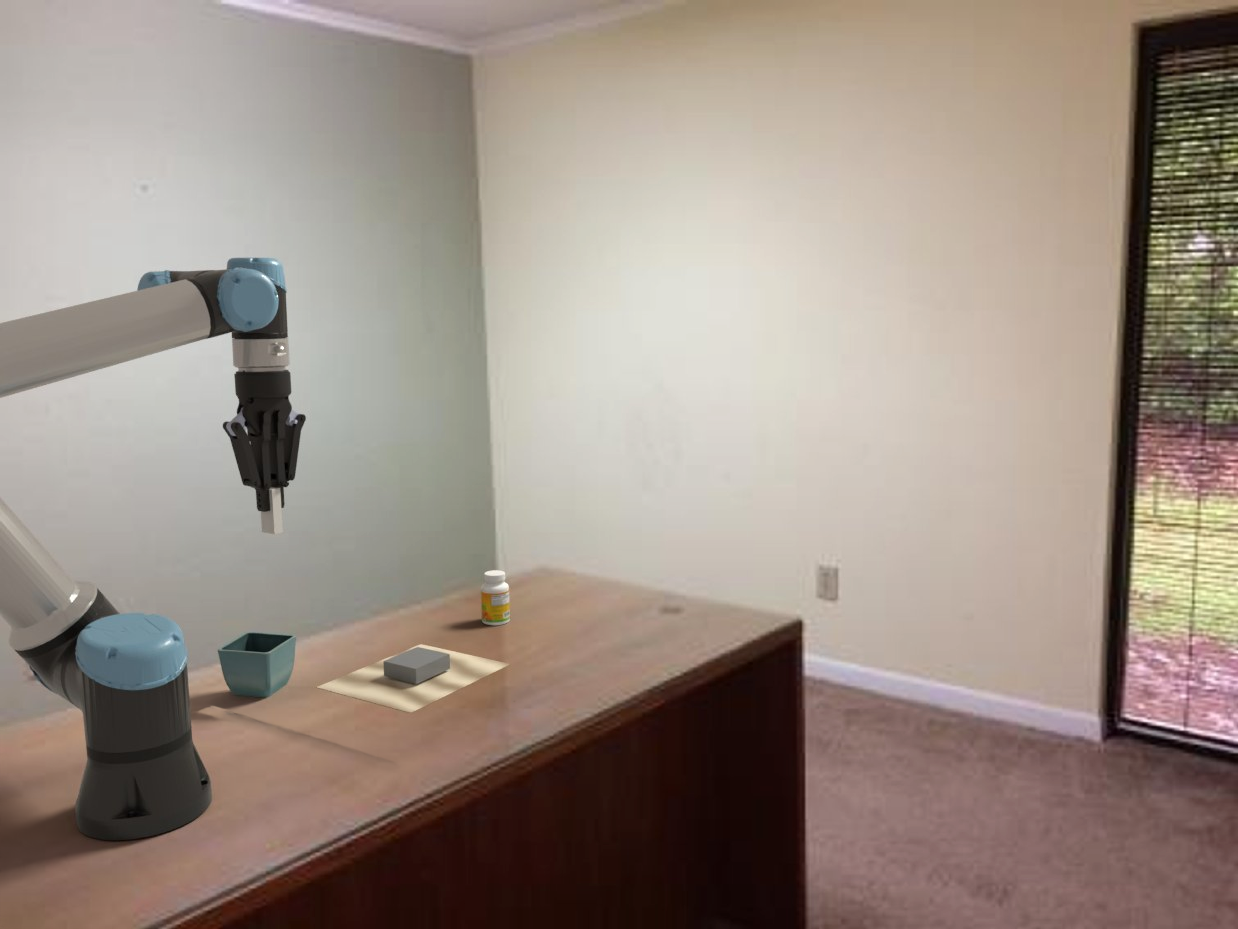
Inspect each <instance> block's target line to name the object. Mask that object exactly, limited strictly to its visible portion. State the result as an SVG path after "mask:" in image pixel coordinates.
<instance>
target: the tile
mask: <svg viewBox="0 0 1238 929" xmlns="http://www.w3.org/2000/svg"><path fill="white" fill-rule="evenodd" d="M383 664H384V676H386V677H390V678H394V679H398V680H402V681H406V682H410V683H414V684H418V683H420V682H422V681H424V680H427V679H429V678H431V677H433V676H435V675H437V674H440V673H442V672H444V671H446V670H448V669H450V654H447V653H443V652H438V651H434V650H429V649H425V648H420V647H416V648H414V649H411V650H409V651H407V652H404V653H402V654H399V655H397V656H395V657H392V658H390V659H387V660H385V661H383Z"/></svg>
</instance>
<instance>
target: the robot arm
mask: <svg viewBox="0 0 1238 929" xmlns="http://www.w3.org/2000/svg"><path fill="white" fill-rule="evenodd" d="M287 290H288V289H287V286H286V279H285V272H284V266H283V263H282V262H281V261H280V260H279V259H276V258H274V257H231V258H229V259H228V260H227V262H226V269H207V270H206V269H205V270H189V271H188V270H168V269H167V270H166V269H164V270H162V271H160V270H159V271H157V270H155V271H147V272H146V273H144V274H143V275H142V276H141V277H140V280H139V281H138V284H137V290H136V291H135V290H134V291H129V292H125V293H122V294H117V295H114V296H110V297H105V298H101V299H98V300H97V299H96V300H92V301H88V302H85V303H80V304H79V303H78V304H75V305H72V306H66V307H64V308H59V309H55V310H51V311H50V310H49V311H45V312H43V313H42V312H41V313H38V314H34V315H28V316H25V317H21V318H17V319H12V320H8V321H3V322H0V399H2V398H6V397H9V396H12V395H15V394H20V393H22V392H26V391H30V390H33V389H37V388H39V387H44V386H47V385H50V384H53V383H57V382H60V381H64V380H67V379H71V378H75V377H77V376H82V375H85V374H89V373H91V372H96V371H99V370H103V369H106V368H109V367H113V366H117V365H119V364H123V363H127V362H130V361H134V360H137V359H141V358H144V357H147V356H151V355H154V354H158V353H162V352H164V351H169V350H170V349H171V350H172V349H174V348H175V349H176V348H178V347H182V346H186V345H189V344H192V343H196V342H199V341H204V340H208V339H212V338H217V337H219V336H223V335H228V334H230V333H231V343H232V347H231V348H232V361H233V362H232V364H233V366H234V368H237V370H236V371H235V373H233V375H234V388H235V390H234V391H235V396H236V397H237V399H238V404H237V405H238V406H237V408H236V415H235V416H234V417H233V418H232V419H231V420H230V421H226V420H225V421H224V422H223V423H222V429H223V430H224V432H225V433H226V434H227V436H228V437H229V441H230V444H231V447H232V451H233V453H234V457H235V461H236V465H237V468H238V472H239V475H240V478H241V482H242V485H243V486H245V487H250V488H253V489H254V490H255V498H256V499H255V500H256V510H257V511H258V512H260V521H261V533H266V534H272V535H277V534H281V533H283V532H284V530H283V529H284V528H283V513H282V512H283V511H282V509H283V508H284V509H285V490H284V488H288V487H289V485H290V481H294V480H295V478H296V474H297V473H296V472H297V465H298V464H297V463H298V456H299V450H300V442H301V434H302V429H303V427H304V424H305V422H306V420H307V417H306V415H305V414H304V413H298V412H296V411H295V410H293V406H292V404H291V402H290V398H289V396H290V395H291V394H292V380H291V372H290V371H289V369H286V367H288V366H289V365H291V363H290V348H289V347H290V345H289V336H288V334H289V333H288V311H287V309H288V308H287V292H288V291H287ZM0 617H2V619H3V620H5V622H6V623H7V624H8V625H9V626H10V634H9V638H8V643H9V646H10V647H11V648H12V650H14V651H15V652H16V654H18V655H19V656H20V657H21V659H22V660H23V661H24V662H25V663H26V664H27V665H28V667H29V670H31V672H32V675H33V677H34V678H35V679H36V681H37V682H39V683H40V684H41V685H42V686H43V687H44V688H45V689H47V690H49V692H53V694H56V695H58V696H60V697H61V698H63V699H65V700H66V701H68V703H70V704H72V705H73V706H74V707H75V708H77V709H79V710H80V711H81V712H82V719H83V728H84V738H85V739H84V740H85V748H86V749H85V750H86V764H85V767H84V770H83V771H84V772H83V774H82V778H81V782H80V788H79V791H78V796H77V799H76V802H75V820H76V821H75V822H76V826H77V829H78V831H80V833H82V834H84V835H86V836H87V837H90V838H93V839H97V840H105V841H127V840H129V841H130V840H137V839H142V838H148V837H149V838H150V837H152V836H156V835H160V834H164V833H168V832H169V831H173V830H175V829H178V828H179V827H182V826H184V825H186V824H188V823H191V822H192V821H194V820H196V819H197V818H198V817H199V816H201V815H202V814H203V813H204V812H205V811H207V809H208V808H210V805H211V803H212V800H213V793H212V792H213V791H212V790H213V789H212V781H211V777H210V776H209V774H208V771H207V768H206V767H205V765H204V763H203V761H202V759H201V756H200V754H199V752H198V749H197V748H196V745H195V743H194V741H193V740H194V739H193V732H192V731H193V730H192V720H191V719H192V718H191V705H190V704H191V701H190V687H189V674H188V658H189V657H188V648H187V646H186V644H185V639H184V632H183V631H182V628H181V627H180V625H178V623H177V622H175V621H174V620H172V619H171V618H169V617H166V616H164V615H160V614H155V613H151V614H146V613H145V612H125V613H120V611H118V610H117V608H116V607H115V606H114V605H113V603H111V602H110V600H109V599H108V598H107V597H106V596H105V595H104V594H103V593H102V592H101V590H100V589H99V588H98V587H97V586H96V585H95V584H94V583H93V582H91V581H77V580H76V581H74V579H73V578H72V577H71V576H70V575H69V574H68V573H67V572H66V570H65V569H64V568H63V567H62V566H61V565H60V563H58V560H56V559H55V558H54V556H53V555H51V553H50V552H49V551H48V550H47V548H45V547H44V545H43V544H42V543H41V542H40V541H39V540H38V539H37V537H36V536H35V535H34V534H33V533H32V532H31V530H30V529H29V528H28V527H27V526H26V525H25V524H24V523H23V521H22V520H21V519H20V518H19V517H18V516H17V515H16V514H15V512H14V511H13V510H12V509H11V508H10V507H9V505H8V504H6V502H5V501H4V500H3V499H2V498H1V497H0Z"/></svg>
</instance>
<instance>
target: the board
mask: <svg viewBox="0 0 1238 929" xmlns="http://www.w3.org/2000/svg"><path fill="white" fill-rule="evenodd" d="M416 647H420V648H425V649H429V650H434V651H438V652H443V653H447V654H450V669H448V670H446V671H444V672H442V673H440V674H437V675H435V676H433V677H431V678H429V679H427V680H424V681H422V682H420V683H418V684H414V683H410V682H406V681H402V680H398V679H394V678H390V677H386V676H384V664H383V661H385V660H387V659H390V658H392V657H395V656H397V655H399V654H402V653H404V652H407V651H409V650H411V649H414V648H416ZM510 665H511V663H508V662H502V661H498V660H495V659H489V658H485V657H481V656H476V655H471V654H467V653H463V652H458V651H454V650H449V649H445V648H440V647H436V646H432V645H431V646H430V645H427V644H422V643H420V644H417V645H415V646H413V647H410V648H408V649H406V650H403V651H400V652H398V653H396V654H394V655H391V656H388V657H386V658H383V659H381V660H379V661H376V662H374V663H371V664H369V665H367V666H364V667H362V668H359V669H357V670H354V671H352V672H350V673H347V674H345V675H343V676H341V677H338V678H335V679H333V680H331V681H328V682H325V683H323V684H321V685H319V686H316V688H317V689H319V690H324V691H327V692H328V691H329V692H332V693H336V694H338V695H343V696H347V697H349V698H353V699H358V700H361V701H363V702H368V703H372V704H376V705H380V706H383V707H387V708H390V709H391V708H392V709H395V710H398V711H401V712H404V713H409V714H412V713H414V712H415V711H417V710H420V709H422V708H424V707H426V706H428V705H430V704H432V703H435V702H436V701H438V700H440V699H443V698H444V697H446V696H448V695H450V694H453V693H454V692H457V691H459V690H461V689H463V688H464V687H467V686H469V685H472V683H473V684H474V683H475V682H477V681H479V680H482V679H483V678H485V677H487V676H489V675H491V674H494V673H495V672H497V671H500V670H502V669H504V668H505V667H508V666H510Z"/></svg>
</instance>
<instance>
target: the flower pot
mask: <svg viewBox="0 0 1238 929" xmlns="http://www.w3.org/2000/svg"><path fill="white" fill-rule="evenodd" d="M296 643H297V635H296V634H285V633H284V634H283V633H269V632H257V631H256V632H255V631H247V632H244V633H243V634H241V635H238V637H236V638H235V639H233V640H231V641H229V642H227V643H226V644H225V645H222V646H221V647H219V648H218V649H217V654H218V658H219V662H220V663H219V664H220V667H221V671H222V674H223V675H222V676H223V679H224V681H225V684H226V685H227V687H228V689H229V691H230V692H231V694H233V696H242V697H243V696H244V697H258V698H270V697H271V696H272V695H273V694H275V693H276V692H278V691H280V690H281V689H283V688H284V687H285V686H286V685H287V684H288V683H289V680H290V679H291V676H292V673H293V670H294V665H295V656H296V645H297V644H296Z"/></svg>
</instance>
